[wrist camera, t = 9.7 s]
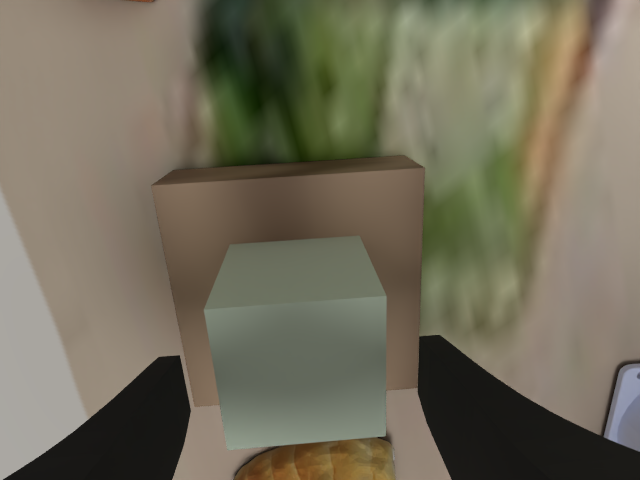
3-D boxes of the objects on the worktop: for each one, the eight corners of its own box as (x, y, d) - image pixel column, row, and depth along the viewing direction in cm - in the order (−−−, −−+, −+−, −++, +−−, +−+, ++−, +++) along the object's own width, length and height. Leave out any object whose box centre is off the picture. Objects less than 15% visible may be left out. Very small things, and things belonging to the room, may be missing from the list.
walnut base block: (404, 155, 18) (424, 167, 15) (401, 348, 22) (417, 387, 19) (173, 170, 18) (151, 185, 15) (207, 364, 21) (194, 406, 18)
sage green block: (359, 235, 16) (386, 296, 11) (361, 344, 18) (385, 436, 13) (229, 244, 16) (203, 309, 11) (244, 354, 18) (227, 450, 13)
